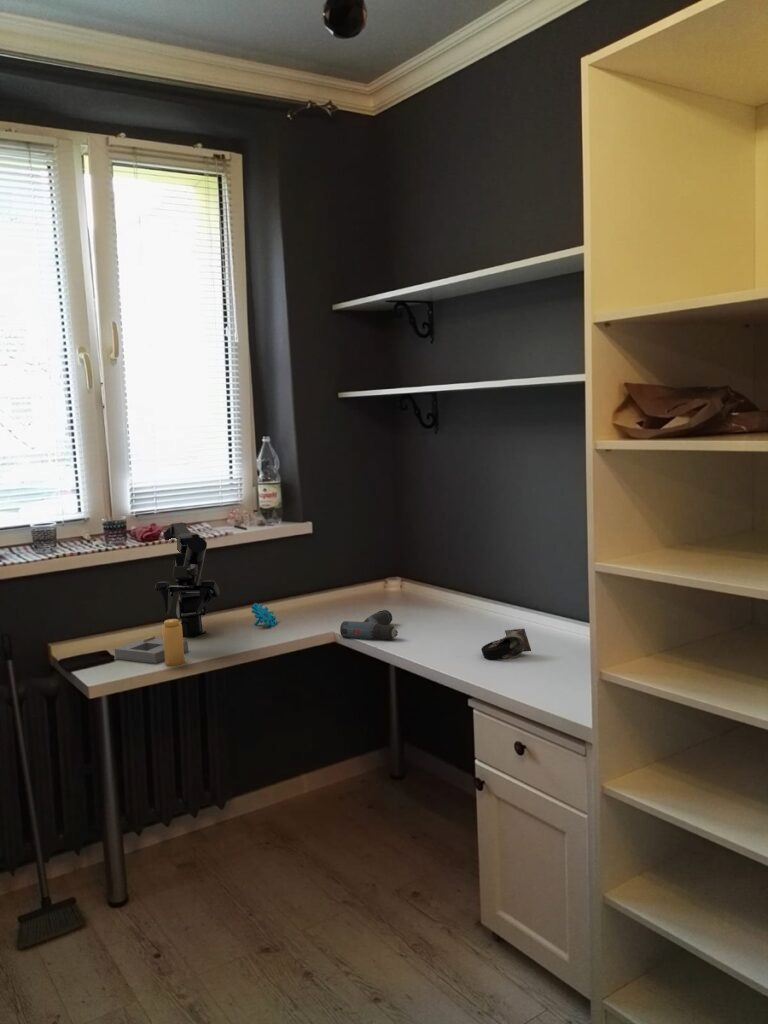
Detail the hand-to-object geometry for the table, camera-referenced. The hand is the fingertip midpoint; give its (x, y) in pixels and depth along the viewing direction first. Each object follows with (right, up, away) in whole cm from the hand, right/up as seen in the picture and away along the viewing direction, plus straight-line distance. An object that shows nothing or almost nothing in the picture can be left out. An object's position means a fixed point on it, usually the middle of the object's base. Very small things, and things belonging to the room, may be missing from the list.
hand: (181, 613), depth 258 cm
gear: (+20, -8, +33) cm, 39 cm away
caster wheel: (+93, -10, -18) cm, 95 cm away
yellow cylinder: (0, -14, -6) cm, 15 cm away
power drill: (+59, -8, +15) cm, 62 cm away
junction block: (-10, -13, +4) cm, 17 cm away
